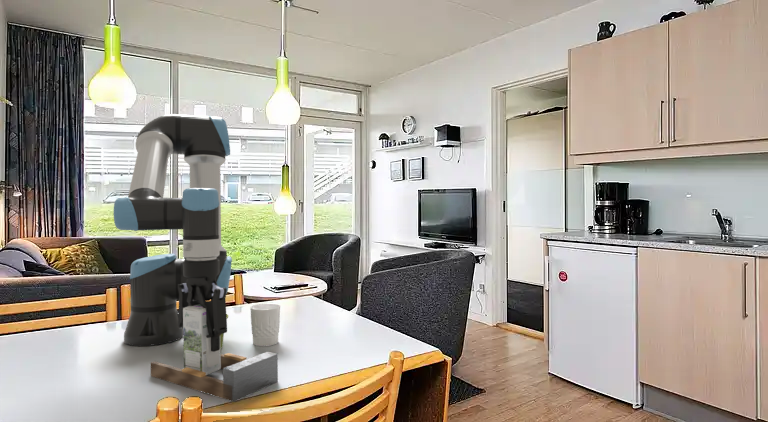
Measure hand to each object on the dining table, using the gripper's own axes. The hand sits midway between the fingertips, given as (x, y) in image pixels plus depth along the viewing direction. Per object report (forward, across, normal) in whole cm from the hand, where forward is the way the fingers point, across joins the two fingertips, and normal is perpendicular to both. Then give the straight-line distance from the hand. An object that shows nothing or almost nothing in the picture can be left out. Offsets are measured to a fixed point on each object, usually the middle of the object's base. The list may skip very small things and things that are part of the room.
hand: (202, 362), depth 106 cm
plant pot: (+3, -14, +13) cm, 20 cm away
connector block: (+3, +15, 0) cm, 15 cm away
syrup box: (+2, 0, 0) cm, 2 cm away
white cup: (+3, -6, +25) cm, 26 cm away
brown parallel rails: (+3, +3, 0) cm, 4 cm away
